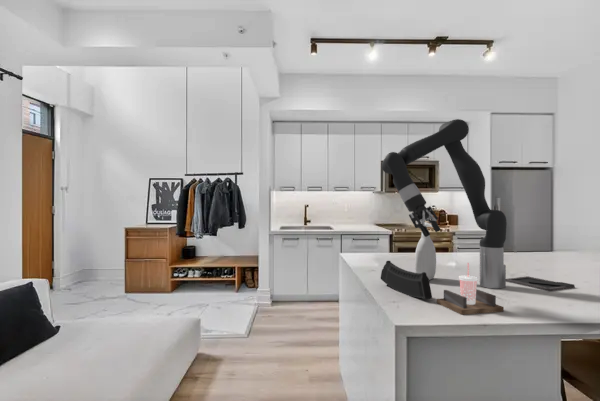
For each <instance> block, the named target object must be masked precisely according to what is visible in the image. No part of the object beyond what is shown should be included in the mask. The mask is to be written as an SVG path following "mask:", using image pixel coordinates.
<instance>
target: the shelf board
mask: <svg viewBox="0 0 600 401" xmlns="http://www.w3.org/2000/svg"><path fill="white" fill-rule="evenodd" d="M496 296H497V295H494V294H492V293H489V292H486V291H483V290H480V289H478V288H476V302H475V304H473V305H469V304H467V298H466V297H464V296H461V294H458V293H456V292H454V291H451V290H448V289H443V298H437V299H436V303H437V304H438V305H441V306H442V305H443V306H442V307H444V306H445V308H446V307H447V308H446V309H448V308H449V310H451V311H453V312H455V313H456V314H459V315H460V316H461V315H464V316H465V315H476V314H477V315H478V314H489V313H500V312H504V306H502V305H499V304H497V303H496V301H497V300H496V298H497V297H496Z"/></svg>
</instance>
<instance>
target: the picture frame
mask: <svg viewBox="0 0 600 401" xmlns="http://www.w3.org/2000/svg"><path fill="white" fill-rule="evenodd" d="M506 283H511V284H515V285H519V286H524V287H527V288H528V287H529V288H533V289H537V290H542V291H546V292H556V291H562V290H569V289H575V286H576V285H575V284H572V283H567V282H562V281H560V282H559V281H552V280H548V279H543V278H538V277H532V276H529V275H528V276H519V277H510V278H506Z"/></svg>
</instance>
